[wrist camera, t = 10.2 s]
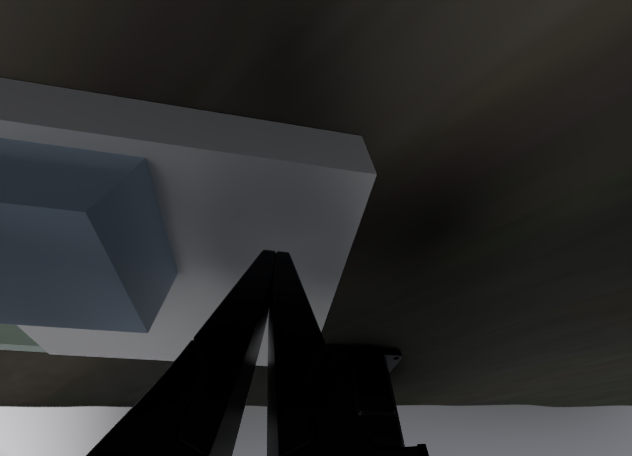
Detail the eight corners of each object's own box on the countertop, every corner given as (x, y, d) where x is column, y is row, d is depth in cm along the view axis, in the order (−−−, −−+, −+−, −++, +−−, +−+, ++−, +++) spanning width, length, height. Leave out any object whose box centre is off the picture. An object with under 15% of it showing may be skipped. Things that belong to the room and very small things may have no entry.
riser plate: (308, 324, 19) (308, 368, 16) (84, 308, 17) (49, 354, 15) (361, 135, 10) (376, 174, 8) (-99, 61, 8) (-260, 82, 6)
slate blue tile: (178, 273, 10) (148, 333, 8) (39, 261, 10) (-27, 321, 8) (145, 157, 7) (85, 211, 5) (-63, 129, 7) (-216, 178, 5)
